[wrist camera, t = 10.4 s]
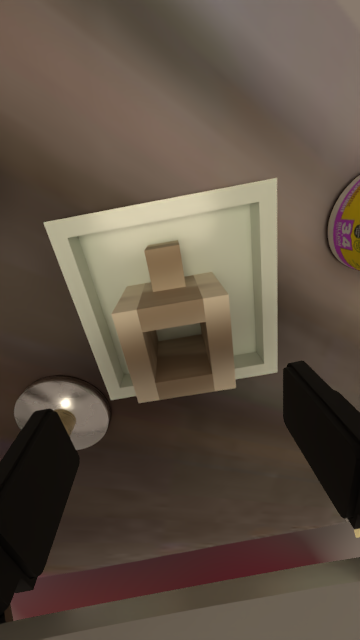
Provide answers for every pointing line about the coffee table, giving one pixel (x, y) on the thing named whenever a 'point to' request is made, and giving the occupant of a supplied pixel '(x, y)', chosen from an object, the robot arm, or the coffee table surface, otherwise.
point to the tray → (197, 257)
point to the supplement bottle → (346, 226)
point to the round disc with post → (67, 407)
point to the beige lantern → (172, 311)
